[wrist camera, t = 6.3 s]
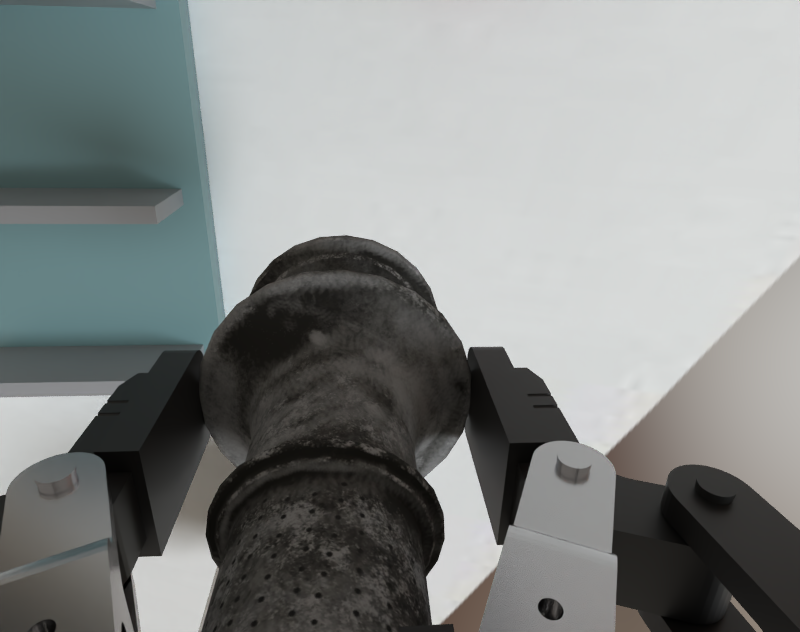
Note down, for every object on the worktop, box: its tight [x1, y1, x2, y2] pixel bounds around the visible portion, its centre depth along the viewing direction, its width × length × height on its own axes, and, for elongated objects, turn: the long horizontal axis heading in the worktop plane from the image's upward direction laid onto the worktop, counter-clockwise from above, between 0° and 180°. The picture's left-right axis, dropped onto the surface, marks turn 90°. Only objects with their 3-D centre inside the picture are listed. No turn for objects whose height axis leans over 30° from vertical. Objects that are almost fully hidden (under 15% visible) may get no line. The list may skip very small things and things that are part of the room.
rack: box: [0, 0, 225, 397], centre depth 25 cm, size 28×13×6 cm, turn 179°
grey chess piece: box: [199, 235, 472, 632], centre depth 10 cm, size 6×6×12 cm
